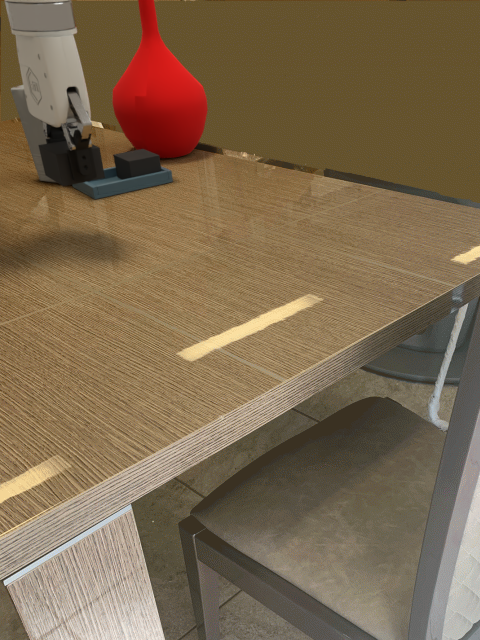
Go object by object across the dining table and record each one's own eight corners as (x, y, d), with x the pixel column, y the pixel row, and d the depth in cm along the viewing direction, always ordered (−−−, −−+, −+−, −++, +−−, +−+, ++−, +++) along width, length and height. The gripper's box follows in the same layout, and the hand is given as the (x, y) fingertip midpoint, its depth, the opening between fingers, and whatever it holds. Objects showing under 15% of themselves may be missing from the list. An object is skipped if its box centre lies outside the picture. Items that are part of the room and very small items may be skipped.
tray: (95, 199, 109) (92, 187, 107) (72, 187, 114) (70, 175, 113) (173, 181, 116) (171, 170, 115) (148, 171, 122) (146, 160, 121)
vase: (106, 151, 133) (71, -24, 115) (181, 137, 143) (161, -27, 125) (150, 170, 122) (120, -20, 104) (229, 153, 132) (214, -24, 114)
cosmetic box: (96, 176, 119) (76, 81, 109) (69, 187, 114) (46, 88, 104) (61, 171, 122) (39, 77, 112) (33, 181, 117) (7, 84, 107)
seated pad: (132, 184, 113) (128, 161, 111) (117, 177, 117) (112, 154, 115) (162, 178, 116) (159, 155, 114) (146, 171, 120) (143, 148, 118)
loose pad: (63, 186, 85) (56, 154, 83) (45, 175, 89) (38, 144, 86) (105, 178, 88) (99, 147, 86) (86, 168, 92) (80, 138, 89)
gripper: (-15, 14, 80) (23, 163, 91) (39, 28, 70) (74, 195, 81) (44, 11, 84) (74, 155, 95) (103, 24, 74) (129, 184, 85)
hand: (74, 172), depth 88 cm, fingers closed on loose pad, 6 cm apart
